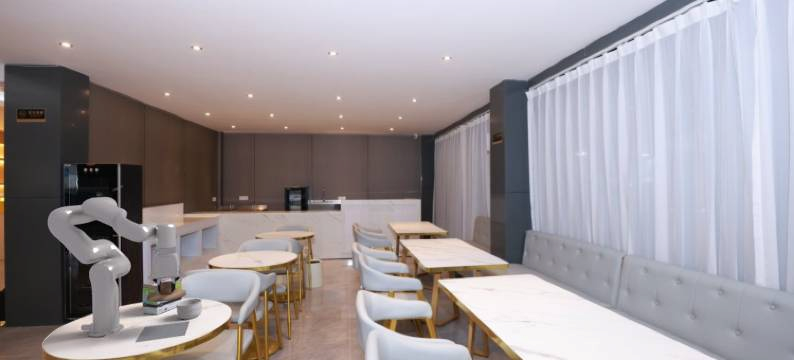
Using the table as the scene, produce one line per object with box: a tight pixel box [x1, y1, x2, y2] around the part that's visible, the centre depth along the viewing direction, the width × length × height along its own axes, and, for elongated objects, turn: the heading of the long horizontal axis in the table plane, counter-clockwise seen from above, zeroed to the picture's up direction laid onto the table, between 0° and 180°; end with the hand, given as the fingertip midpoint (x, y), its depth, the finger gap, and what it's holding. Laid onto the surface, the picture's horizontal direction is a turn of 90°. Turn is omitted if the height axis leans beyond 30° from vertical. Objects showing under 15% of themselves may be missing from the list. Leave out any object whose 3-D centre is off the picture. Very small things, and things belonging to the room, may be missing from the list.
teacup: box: [176, 297, 203, 321], centre depth 192 cm, size 14×11×8 cm
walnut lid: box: [147, 281, 187, 302], centre depth 175 cm, size 15×15×6 cm
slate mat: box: [135, 320, 191, 343], centre depth 173 cm, size 18×18×1 cm
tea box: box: [142, 277, 183, 316], centre depth 204 cm, size 15×10×15 cm, turn 162°
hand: (166, 291), depth 175 cm, fingers closed on walnut lid, 4 cm apart
